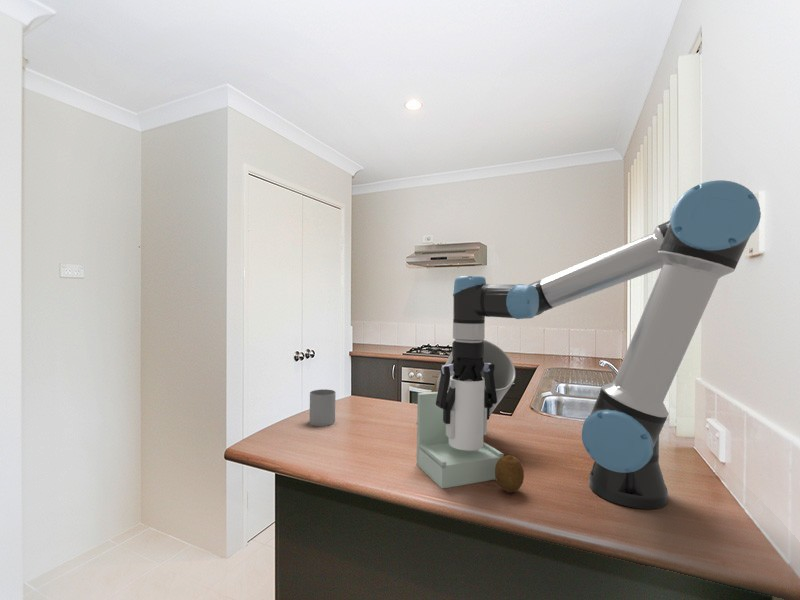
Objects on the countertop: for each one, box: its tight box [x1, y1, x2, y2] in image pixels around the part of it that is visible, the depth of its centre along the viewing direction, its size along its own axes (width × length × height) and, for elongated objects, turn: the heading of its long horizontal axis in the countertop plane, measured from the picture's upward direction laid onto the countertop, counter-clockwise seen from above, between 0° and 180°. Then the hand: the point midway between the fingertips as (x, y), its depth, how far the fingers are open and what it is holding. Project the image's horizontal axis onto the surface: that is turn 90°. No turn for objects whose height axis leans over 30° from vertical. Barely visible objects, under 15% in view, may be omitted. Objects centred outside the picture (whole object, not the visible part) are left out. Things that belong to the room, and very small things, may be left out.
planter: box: [430, 339, 517, 417], centre depth 124 cm, size 19×19×26 cm
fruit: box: [495, 454, 525, 493], centre depth 90 cm, size 6×6×8 cm
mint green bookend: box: [416, 391, 504, 489], centre depth 101 cm, size 14×16×18 cm
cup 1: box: [309, 388, 337, 427], centre depth 138 cm, size 8×8×10 cm
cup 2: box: [449, 376, 485, 451], centre depth 99 cm, size 8×8×16 cm
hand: (466, 434), depth 99 cm, fingers closed on cup 2, 8 cm apart
